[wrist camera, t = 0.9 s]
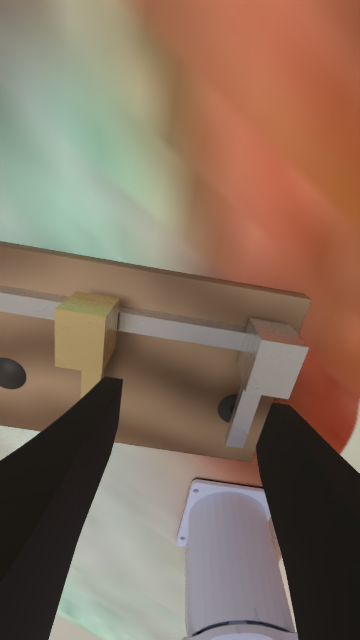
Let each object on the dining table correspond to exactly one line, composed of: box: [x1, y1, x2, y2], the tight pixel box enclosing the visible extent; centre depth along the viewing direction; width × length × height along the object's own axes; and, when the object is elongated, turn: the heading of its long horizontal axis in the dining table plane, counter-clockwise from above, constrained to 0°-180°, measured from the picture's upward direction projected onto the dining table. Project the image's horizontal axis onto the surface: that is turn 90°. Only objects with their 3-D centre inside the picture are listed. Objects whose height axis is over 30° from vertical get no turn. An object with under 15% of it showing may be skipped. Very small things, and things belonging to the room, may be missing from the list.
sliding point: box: [54, 291, 119, 398], centre depth 17 cm, size 9×2×4 cm, turn 170°
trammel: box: [0, 285, 309, 448], centre depth 17 cm, size 9×21×4 cm, turn 80°
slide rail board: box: [0, 241, 311, 462], centre depth 20 cm, size 14×22×1 cm, turn 80°
